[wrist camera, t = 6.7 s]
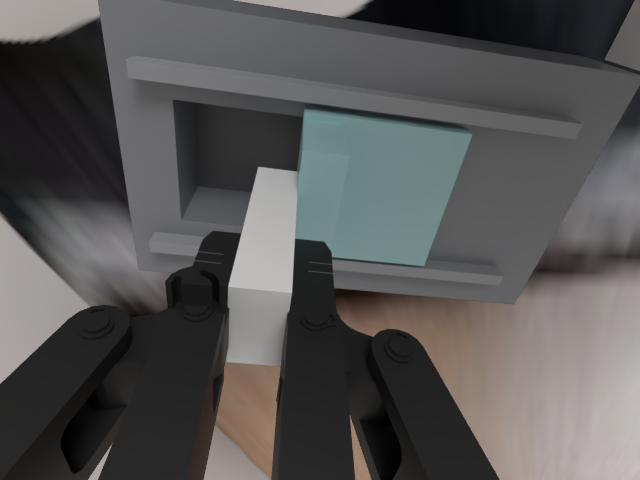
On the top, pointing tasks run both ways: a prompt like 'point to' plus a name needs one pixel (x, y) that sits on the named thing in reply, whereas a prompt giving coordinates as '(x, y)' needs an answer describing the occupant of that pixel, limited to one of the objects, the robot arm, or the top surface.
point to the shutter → (375, 183)
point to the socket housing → (360, 97)
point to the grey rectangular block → (627, 40)
